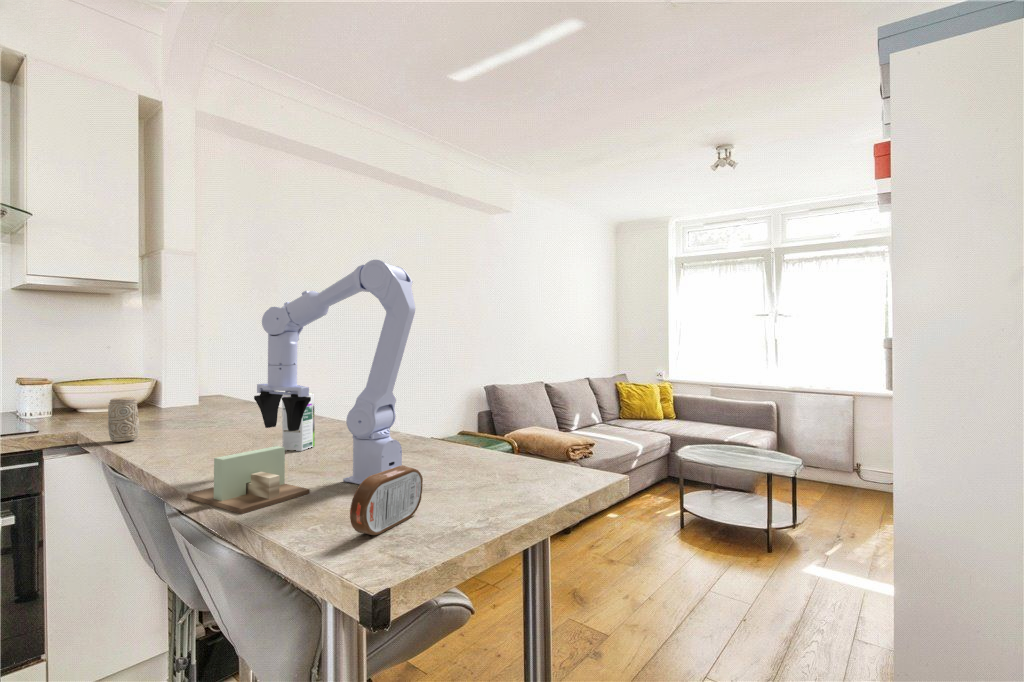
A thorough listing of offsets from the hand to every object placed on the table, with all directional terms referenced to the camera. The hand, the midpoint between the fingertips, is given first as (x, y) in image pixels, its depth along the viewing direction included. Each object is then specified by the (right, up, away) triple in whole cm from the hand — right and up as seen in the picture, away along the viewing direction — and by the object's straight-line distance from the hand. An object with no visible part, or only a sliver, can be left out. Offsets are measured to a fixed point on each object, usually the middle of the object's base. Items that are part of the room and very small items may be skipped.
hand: (281, 428), depth 107 cm
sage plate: (+2, -9, -16) cm, 18 cm away
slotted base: (+1, -9, -16) cm, 18 cm away
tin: (+30, -10, -30) cm, 44 cm away
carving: (-58, -9, +32) cm, 67 cm away
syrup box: (-7, -10, +25) cm, 27 cm away
